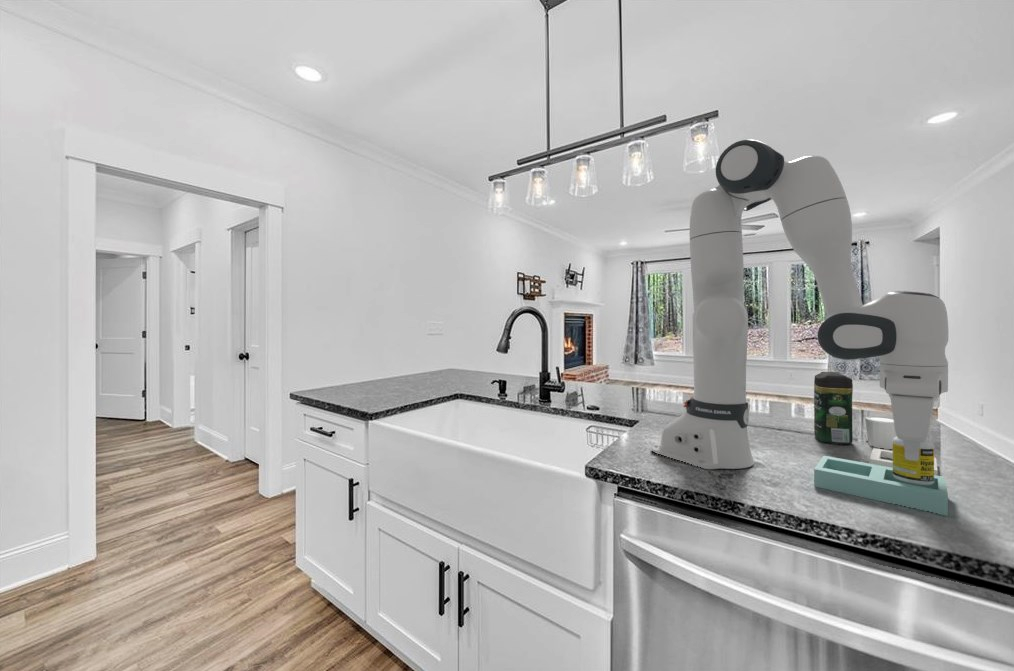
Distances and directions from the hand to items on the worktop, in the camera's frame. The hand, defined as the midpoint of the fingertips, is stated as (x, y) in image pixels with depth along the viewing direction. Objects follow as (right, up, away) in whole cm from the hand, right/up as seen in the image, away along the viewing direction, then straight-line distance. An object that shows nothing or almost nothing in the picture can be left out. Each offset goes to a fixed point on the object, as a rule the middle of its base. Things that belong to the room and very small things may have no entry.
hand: (912, 454), depth 75 cm
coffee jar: (+14, -7, +36) cm, 39 cm away
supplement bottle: (0, -5, 0) cm, 5 cm away
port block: (-3, -8, +4) cm, 9 cm away
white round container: (+23, -7, +30) cm, 38 cm away
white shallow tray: (+15, -7, +17) cm, 24 cm away
